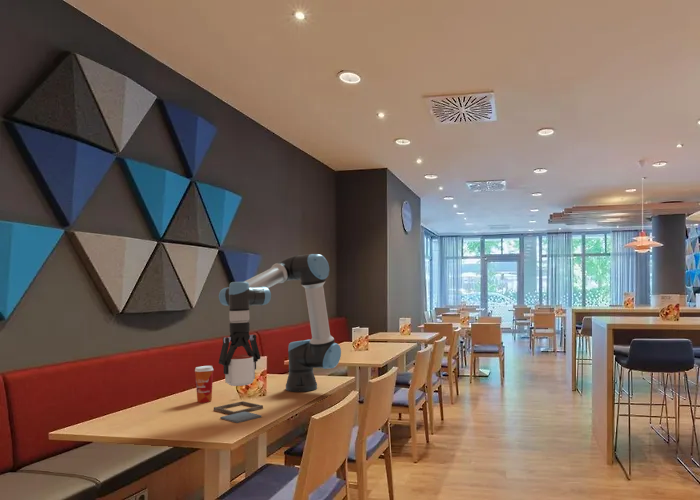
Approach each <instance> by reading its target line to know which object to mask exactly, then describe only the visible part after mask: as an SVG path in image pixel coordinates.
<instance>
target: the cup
mask: <svg viewBox="0 0 700 500" xmlns="http://www.w3.org/2000/svg"><path fill="white" fill-rule="evenodd" d="M229 365H231V383H227V384H228V385H230V386H232V387H240V386H241V387H243V386H248V385H251V384H253V382H254V381H255V379H254V368H253V357H252V356H248V355H238V356H233V357H232V359H231V361H230V363H229Z"/></svg>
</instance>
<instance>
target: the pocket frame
mask: <svg viewBox="0 0 700 500" xmlns="http://www.w3.org/2000/svg"><path fill="white" fill-rule="evenodd" d="M238 406H239V407H240V406H247V407H248V408H244V409H239V410H235V411H234V410H229V408H234V407H238ZM263 409H264V405H261V404H257V403H253V402H249V401H238V402H233V403H229V404H223V405H217V406H214V407H213V411H214V412H219V413H223V414H227V415H231V414H236V413H240V412H249V413H251V412H254V411H258V410H263Z"/></svg>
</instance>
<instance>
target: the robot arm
mask: <svg viewBox="0 0 700 500" xmlns="http://www.w3.org/2000/svg"><path fill="white" fill-rule="evenodd" d="M329 265H330V264H329V262H328V260H327V259H326V257H325V256H324V255H322V254H319V253H310V254H309V253H308V254H301V255H298V254H297V255H292V256H289V257H286V258H284V259H282V260H280V261H278V262H276V263H274V264H272V265H271V267H270V268H268V269H266V270H265V271H263V272H261V273H258V274H256V275H255V276H252V277H250V278H248V279H245V280H244V281H232V282H230V283H229V287H228V286H227V287H224V288H222V289H221V290H220V291H219V294H218V299H219V300H218V301H219V302H220V304H221V305H222V306H226V307H229V311H228V313H229V333H230V334H229V336H228V337H226V336H225V337H224V336H223V337H222V344H221V350H220V354H219V359H218V364H219V365H222V366H223V374H224V376H225V377H224V378H225V380H224V381H225V383H226V384H228V383H231V365H229V363H230V361H231V359H232V357H234V354H235V352H236V350H237V349H238V347H239V348H240V347H243V349H244V350H245V353H246V354H247V356H252V357H253V368H254V380H255V379H256V370H257V362H258V361H259V360H260V359H261V354H260V351H259V346H258V343H257V335H256V334H250V330H251V329H250V324H251V323H250V307H251V306H254V307H255V306H264V305H267V304H269V303H270V302H271V298H272V293H271V290H270V289H269V288H271V287H274V286H275V285H277V284H283V283H285V282H289V281H300V286H301V287H303V288H304V290H305V291H304V292H305V298H306V304H307V305H306V306H307V311H308V319H309V326H310V332H311V339H305V340H297V341H291V342H290V343H288V351H287V353H288V354H287V355H288V375H287V379H286V384H285V391H287V392H292V393H293V392H309V391H314V390H317V389H318V383H317V381H316V376H315V373H314V369H316V368H317V369H324V370H327V369H335V368H336V367H337V366H338V365H339V363H340V360H341V358H342V357H341V356H342V349H341V348H342V347H341V346H340V345H339V344H338V343H336V342H335V338H334V337H333V336H332V335H331V332H330V330H331V329H330V323H329V317H328V316H329V315H328V311H327V309H328V308H327V304H326V296H325V289H324V284H325V283H326V282H327V281H326V279H327V278H328V277H329V275H330V266H329Z"/></svg>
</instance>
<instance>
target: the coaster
mask: <svg viewBox="0 0 700 500" xmlns="http://www.w3.org/2000/svg"><path fill="white" fill-rule="evenodd" d="M262 417H263V416H262V415H261V414H257V413H252V412H240V413H236V414H231V415H230V414H227V415H223V416H220V419H221V420H225V421H228V422H232V423H235V424H239V423H242V422H247V421H251V420H256V419H260V418H262Z"/></svg>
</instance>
